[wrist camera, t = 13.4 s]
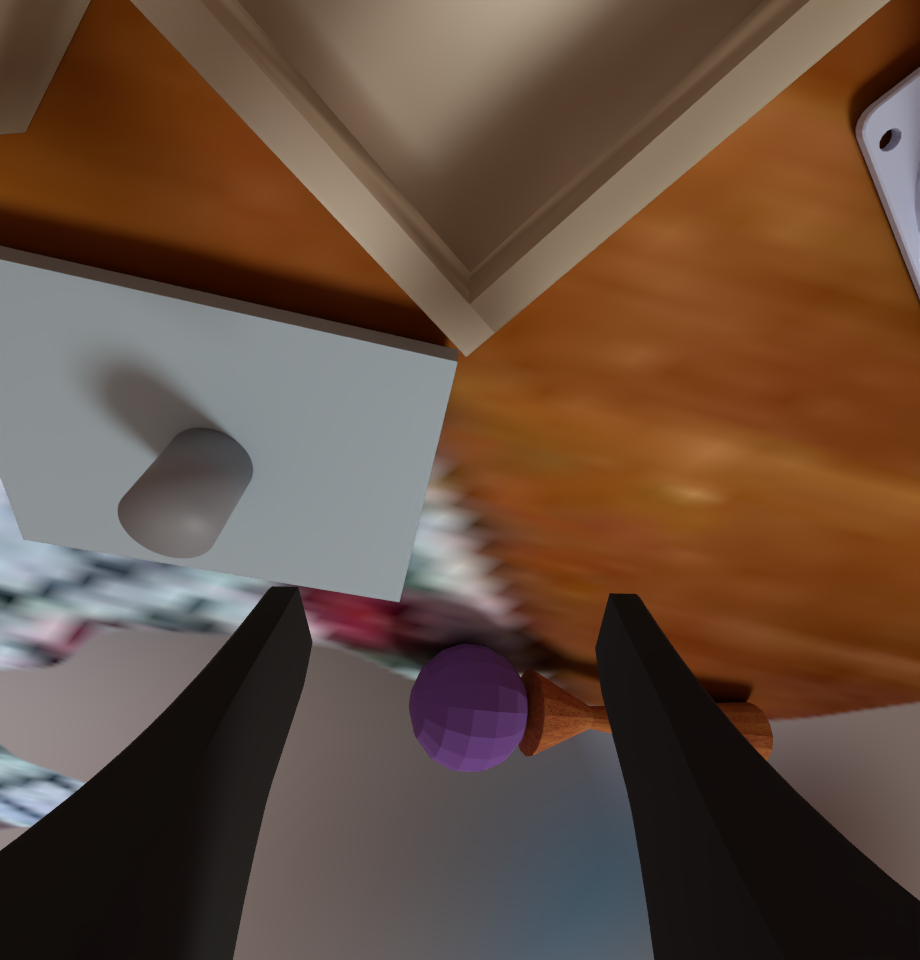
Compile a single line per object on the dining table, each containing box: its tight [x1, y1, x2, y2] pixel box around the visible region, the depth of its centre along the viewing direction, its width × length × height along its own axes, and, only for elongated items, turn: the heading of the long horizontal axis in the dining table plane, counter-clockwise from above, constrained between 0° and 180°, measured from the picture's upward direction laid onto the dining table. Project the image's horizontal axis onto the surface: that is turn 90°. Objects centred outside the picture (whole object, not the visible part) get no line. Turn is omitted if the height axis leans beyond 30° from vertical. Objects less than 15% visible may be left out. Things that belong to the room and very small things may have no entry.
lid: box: [0, 246, 458, 602], centre depth 19 cm, size 16×12×6 cm
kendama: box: [409, 643, 773, 772], centre depth 28 cm, size 6×6×20 cm
